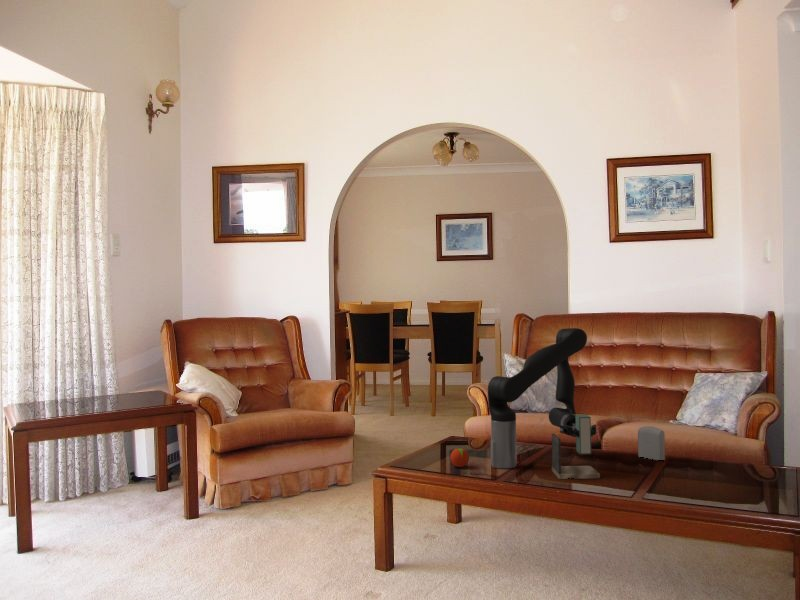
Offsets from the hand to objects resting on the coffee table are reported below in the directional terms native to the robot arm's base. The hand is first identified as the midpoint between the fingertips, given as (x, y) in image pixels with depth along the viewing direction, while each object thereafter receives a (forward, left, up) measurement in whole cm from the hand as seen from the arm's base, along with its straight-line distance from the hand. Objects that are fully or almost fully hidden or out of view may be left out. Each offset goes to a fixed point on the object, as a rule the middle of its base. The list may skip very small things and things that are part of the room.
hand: (585, 433), depth 243 cm
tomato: (-43, +15, -15) cm, 48 cm away
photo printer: (+32, +24, -15) cm, 43 cm away
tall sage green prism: (0, +2, -7) cm, 7 cm away
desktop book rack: (-3, +2, -15) cm, 15 cm away
